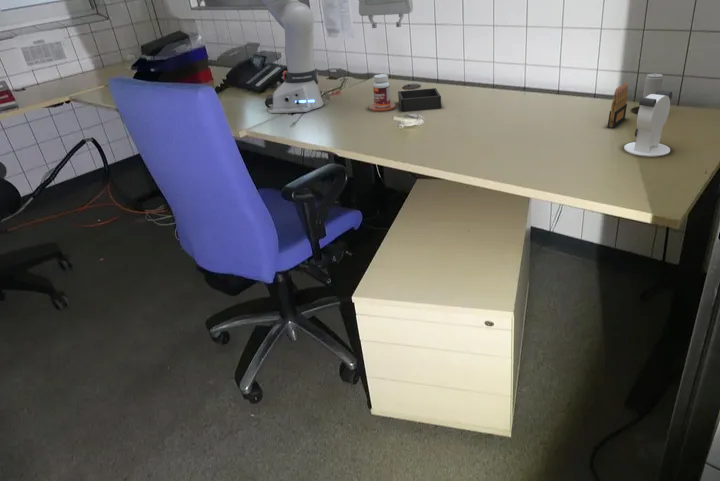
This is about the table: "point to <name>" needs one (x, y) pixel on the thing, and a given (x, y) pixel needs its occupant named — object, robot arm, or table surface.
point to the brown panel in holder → (618, 106)
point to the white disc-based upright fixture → (651, 125)
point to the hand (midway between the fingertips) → (386, 27)
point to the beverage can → (652, 84)
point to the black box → (419, 99)
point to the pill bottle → (381, 91)
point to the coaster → (373, 108)
